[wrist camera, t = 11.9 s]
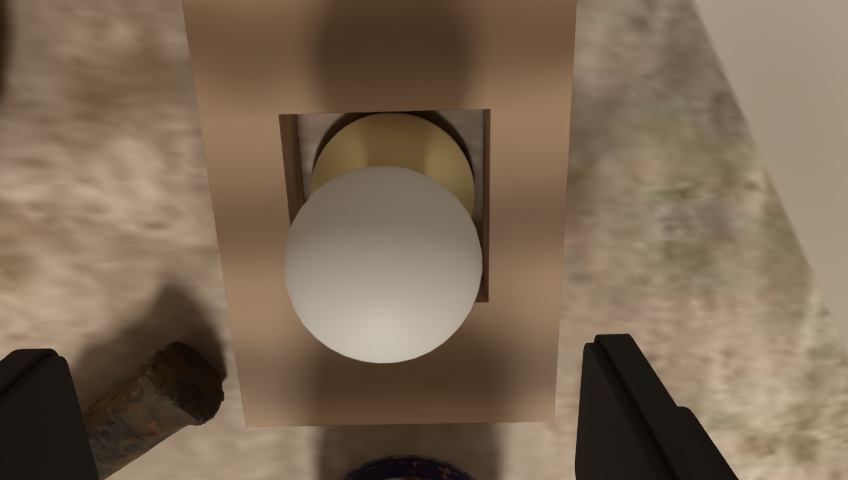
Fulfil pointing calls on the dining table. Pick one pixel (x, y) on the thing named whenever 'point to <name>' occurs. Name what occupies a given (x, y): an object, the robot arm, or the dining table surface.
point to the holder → (401, 147)
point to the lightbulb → (382, 264)
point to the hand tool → (152, 407)
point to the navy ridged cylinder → (407, 469)
